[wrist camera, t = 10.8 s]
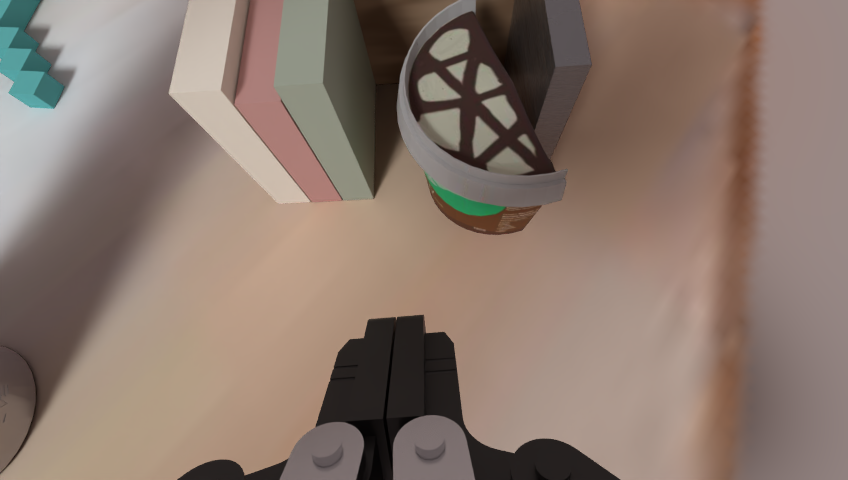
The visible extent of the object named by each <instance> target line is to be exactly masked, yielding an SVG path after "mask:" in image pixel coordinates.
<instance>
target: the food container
mask: <svg viewBox="0 0 848 480" xmlns="http://www.w3.org/2000/svg"><path fill="white" fill-rule="evenodd" d="M397 117H398V124H399V128H400V132H401V135H402V138H403V140H404V142H405V144H406V146H407V148H408V151H409V152H410V154H411V155H412V156H413V158H414V159H415V161H416V162H417V163H418V165H419V166H420V167H421V168H422V169H423V170H424V172H425V175H426V179H427V182H428V186H429V189H430V193H431V196H432V198H433V200H434V202H435V204H436V205H437V206H438V208H439V209H440V211H441V212H442V213H443V214H444V215H445V216H446V217H447V218H448V219H450V220H451V221H453V222H454V223H456V224H457V225H459V226H461V227H463V228H465V229H467V230H471V231H474V232H477V233H483V234H492V235H501V234H509V233H514V232H517V231H521V230H523V229H524V228H525V226H526V225H527V224H528V223H529V221H530V220H531V219H532V217H533V216H534V215H535V214H536V212H537V211H538V210H539V209H540V207H541V206H542V205H545V204H548V203H552V202H556V201H560V200H562V196H563V193H564V189H565V186H566V180H565V176H566V173H567V171H568V170H567V169H565V170H561V171H557V172H556V171H555V169H554V167H553V164H552V162H551V161H550V159H549V158H548V156H547V155H546V153H545V151H544V149H543V147H542V145H541V143H540V141H539V139H538V137H537V135H536V133H535V131H534V129H533V127H532V125H531V123H530V120H529V118H528V116H527V114H526V112H525V109H524V107H523V104H522V102H521V100H520V97H519V95H518V93H517V91H516V88H515V86H514V84H513V82H512V80H511V78H510V77H509V75H508V73H507V72H506V70H505V68H504V67H503V65H502V64H501V62H500V61H499V59H498V57H497V56H496V54H495V52H494V50H493V49H492V47H491V45H490V43H489V41H488V39H487V37H486V35H485V33H484V31H483V29H482V27H481V25H480V23H479V21H478V19H477V17H476V0H458V1H457V2H455V3H453V4H451V5H449V6H447V7H446V8H445V9H443V10H442V11H440V12H439V13H438V14H436V15H435V16H434V17H433V18H432V19H431V20H430V21H429V22H428V23H427V24H426V25H425V26H424V27H423V28H422V30H421V31H420V32H419V34H418V35H417V36H416V38H415V40H414V42H413V44H412V46H411V48H410V50H409V52H408V54H407V56H406V58H405V61H404V64H403V67H402V71H401V74H400V82H399V90H398V99H397Z"/></svg>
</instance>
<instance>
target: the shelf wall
mask: <svg viewBox="0 0 848 480" xmlns="http://www.w3.org/2000/svg"><path fill="white" fill-rule="evenodd" d="M457 1H458V0H354V4H355V7H356V11H357V15H358V19H359V23H360V26H361V30H362V34H363V38H364V42H365V45H366V49H367V53H368V57H369V61H370V64H371V68H372V72H373V76H374V80H375V83H376V84H390V83H399V82H400V74H401V71H402V67H403V64H404V61H405V58H406V56H407V54H408V52H409V50H410V48H411V46H412V44H413V42H414V40H415V38H416V36H417V35H418V34H419V32H420V31H421V30H422V28H423V27H424V26H425V25H426V24H427V23H428V22H429V21H430V20H431V19H432V18H433V17H434V16H435V15H436V14H438V13H439V12H440V11H442V10H443V9H445V8H446V7H447V6H449V5H451V4H453V3H455V2H457ZM513 6H514V0H476V17H477V19H478V21H479V23H480V25H481V27H482V29H483V31H484V33H485V35H486V37H487V39H488V41H489V43H490V45H491V47H492V49H493V50H494V52H495V54H496V56H497V57H498V59H499V61H500V62H501V64H502V65H503V67H504V62H505V56H506V49H507V43H508V37H509V31H510V24H511V18H512V12H513Z"/></svg>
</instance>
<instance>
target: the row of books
mask: <svg viewBox="0 0 848 480" xmlns="http://www.w3.org/2000/svg"><path fill="white" fill-rule="evenodd" d="M169 95H170V96H171V97H172V98H173V99H174V100H175V101H176V102H177V103H178V104H179V105H180V106H181V107H182V108H183V109H184V110H185V111H186V112H187V113H188V114H189V115H190V116H191V117H192V118H193V119H194V120H195V121H196V122H197V123H198V124H199V125H200V126H201V127H202V128H203V129H204V130H205V131H206V132H207V133H208V134H209V135H210V136H211V137H212V138H213V139H214V140H215V141H216V142H217V143H218V144H219V145H220V146H221V147H222V148H223V149H224V150H225V151H226V152H227V153H228V154H229V155H230V156H231V157H232V158H233V159H234V160H235V161H236V162H237V163H238V164H239V165H240V166H241V167H242V168H243V169H244V170H245V171H246V172H247V173H248V174H249V175H250V176H251V177H252V178H253V179H254V180H255V181H256V182H257V183H258V184H259V185H260V186H261V187H262V188H263V189H264V190H265V191H266V192H267V193H268V194H269V195H270V196H271V197H272V198H273V199H274V200H275V201H276V202H277V203H278V204H282V203H302V202H311V201H312V202H321V201H340V200H342V199H343V200H359V199H374V160H375V101H376V83H375V80H374V76H373V72H372V68H371V64H370V61H369V57H368V53H367V49H366V45H365V42H364V38H363V34H362V30H361V26H360V23H359V19H358V15H357V11H356V7H355V4H354V0H189V3H188V7H187V12H186V16H185V21H184V26H183V30H182V35H181V39H180V44H179V48H178V53H177V57H176V62H175V67H174V71H173V76H172V80H171V85H170V89H169Z"/></svg>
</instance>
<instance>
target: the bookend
mask: <svg viewBox="0 0 848 480" xmlns="http://www.w3.org/2000/svg"><path fill="white" fill-rule="evenodd" d="M591 65H592V63H591V58H590V53H589V48H588V43H587V38H586V33H585V28H584V23H583V18H582V13H581V8H580V3H579V0H514V6H513V12H512V18H511V24H510V31H509V37H508V43H507V49H506V56H505V62H504V68H505V70H506V72H507V73H508V75H509V77H510V78H511V80H512V82H513V84H514V86H515V88H516V91H517V93H518V95H519V97H520V100H521V102H522V104H523V107H524V109H525V112H526V114H527V116H528V118H529V120H530V123H531V125H532V127H533V129H534V131H535V133H536V135H537V137H538V139H539V141H540V143H541V145H542V147H543V149H544V151H545V153H546V155H547V156H548V158H549V159H550V158H551V156H552V154H553V151H554V149H555V147H556V145H557V142H558V140H559V138H560V135H561V133H562V131H563V129H564V126H565V124H566V122H567V120H568V117H569V115H570V113H571V110H572V108H573V106H574V104H575V101H576V99H577V97H578V95H579V92H580V90H581V88H582V85H583V83H584V81H585V79H586V76H587V74H588V72H589V70H590V67H591Z"/></svg>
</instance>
